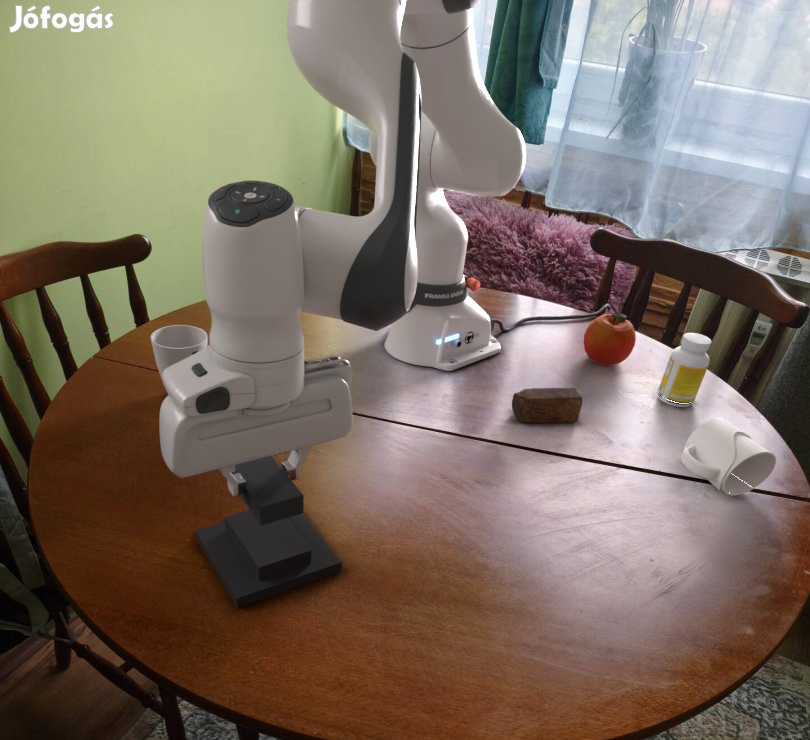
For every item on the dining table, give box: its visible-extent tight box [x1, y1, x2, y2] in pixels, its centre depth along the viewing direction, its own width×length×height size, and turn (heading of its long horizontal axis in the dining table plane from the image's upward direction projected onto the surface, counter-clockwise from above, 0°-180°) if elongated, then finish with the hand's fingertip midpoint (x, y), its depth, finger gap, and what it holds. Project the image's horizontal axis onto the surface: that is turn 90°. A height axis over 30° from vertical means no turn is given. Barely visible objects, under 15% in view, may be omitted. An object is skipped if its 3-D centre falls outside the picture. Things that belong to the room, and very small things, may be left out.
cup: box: [150, 324, 209, 382], centre depth 106 cm, size 8×8×10 cm
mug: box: [680, 417, 777, 497], centre depth 102 cm, size 12×9×8 cm
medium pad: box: [224, 509, 311, 580], centre depth 81 cm, size 6×10×2 cm, turn 33°
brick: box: [511, 387, 584, 424], centre depth 113 cm, size 11×4×5 cm, turn 100°
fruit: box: [582, 311, 637, 366], centre depth 131 cm, size 10×10×10 cm
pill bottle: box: [657, 332, 712, 408], centre depth 120 cm, size 6×6×12 cm
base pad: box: [194, 513, 343, 609], centre depth 83 cm, size 13×13×2 cm
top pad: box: [231, 455, 305, 526], centre depth 77 cm, size 5×9×2 cm, turn 33°
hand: (264, 484), depth 76 cm, fingers closed on top pad, 5 cm apart
